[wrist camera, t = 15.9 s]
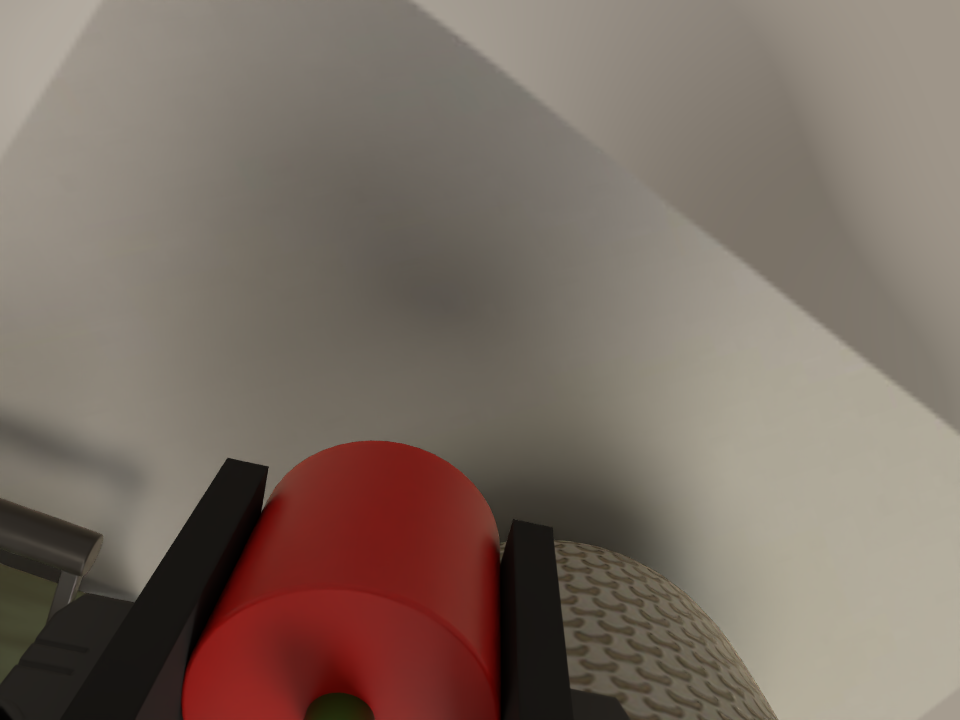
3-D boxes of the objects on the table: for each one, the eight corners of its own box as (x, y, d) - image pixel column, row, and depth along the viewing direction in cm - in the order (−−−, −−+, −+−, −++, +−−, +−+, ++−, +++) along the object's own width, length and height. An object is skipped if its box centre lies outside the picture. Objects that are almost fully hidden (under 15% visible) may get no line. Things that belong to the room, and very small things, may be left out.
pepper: (278, 414, 15) (153, 628, 10) (526, 468, 15) (543, 705, 10) (245, 618, 17) (122, 902, 11) (469, 664, 17) (457, 961, 12)
